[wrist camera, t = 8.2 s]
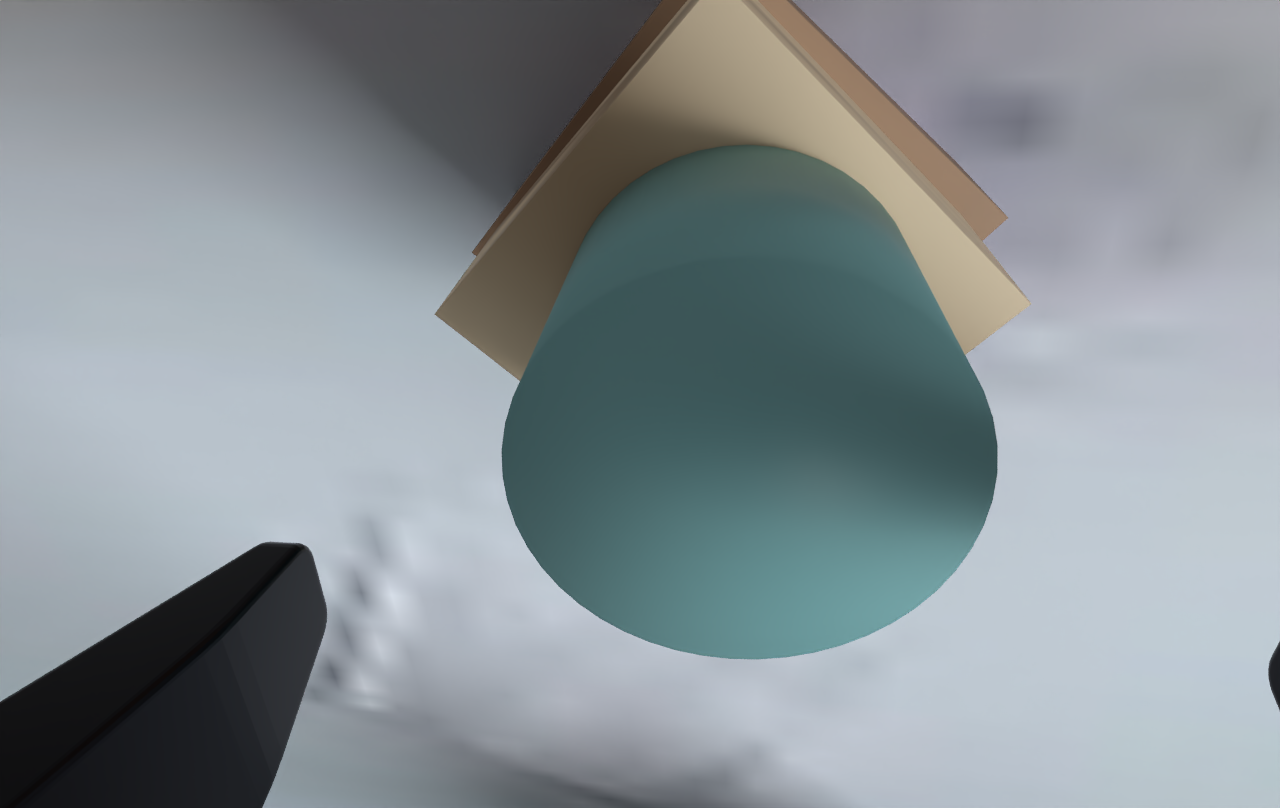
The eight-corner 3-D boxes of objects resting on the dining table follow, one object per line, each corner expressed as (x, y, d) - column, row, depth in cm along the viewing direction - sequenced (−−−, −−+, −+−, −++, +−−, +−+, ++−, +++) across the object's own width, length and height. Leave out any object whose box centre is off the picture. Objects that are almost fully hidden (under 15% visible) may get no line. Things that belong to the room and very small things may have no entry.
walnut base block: (737, 369, 21) (739, 456, 18) (516, 192, 20) (472, 252, 16) (954, 160, 18) (1008, 218, 15) (717, -74, 16) (716, -70, 13)
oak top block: (724, 417, 17) (724, 540, 14) (497, 227, 16) (434, 314, 12) (960, 214, 15) (1030, 303, 11) (720, -40, 13) (718, -24, 10)
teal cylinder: (755, 516, 14) (763, 718, 10) (502, 342, 13) (416, 505, 9) (997, 299, 11) (1110, 467, 8) (715, 60, 10) (708, 138, 7)
